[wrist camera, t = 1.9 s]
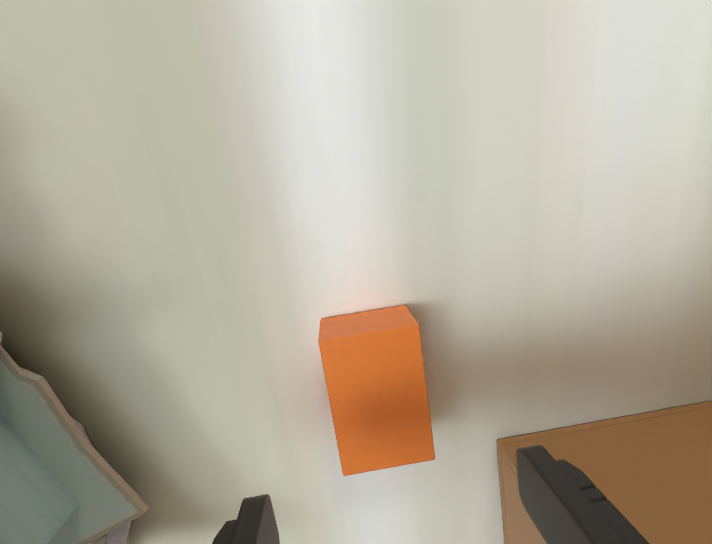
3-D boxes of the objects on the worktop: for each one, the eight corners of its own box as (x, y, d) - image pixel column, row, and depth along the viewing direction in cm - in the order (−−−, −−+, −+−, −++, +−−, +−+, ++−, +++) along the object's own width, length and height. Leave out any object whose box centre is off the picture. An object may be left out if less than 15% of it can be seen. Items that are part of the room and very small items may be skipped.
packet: (320, 318, 18) (318, 341, 15) (405, 304, 19) (419, 324, 16) (341, 435, 20) (343, 476, 17) (420, 421, 20) (435, 459, 17)
